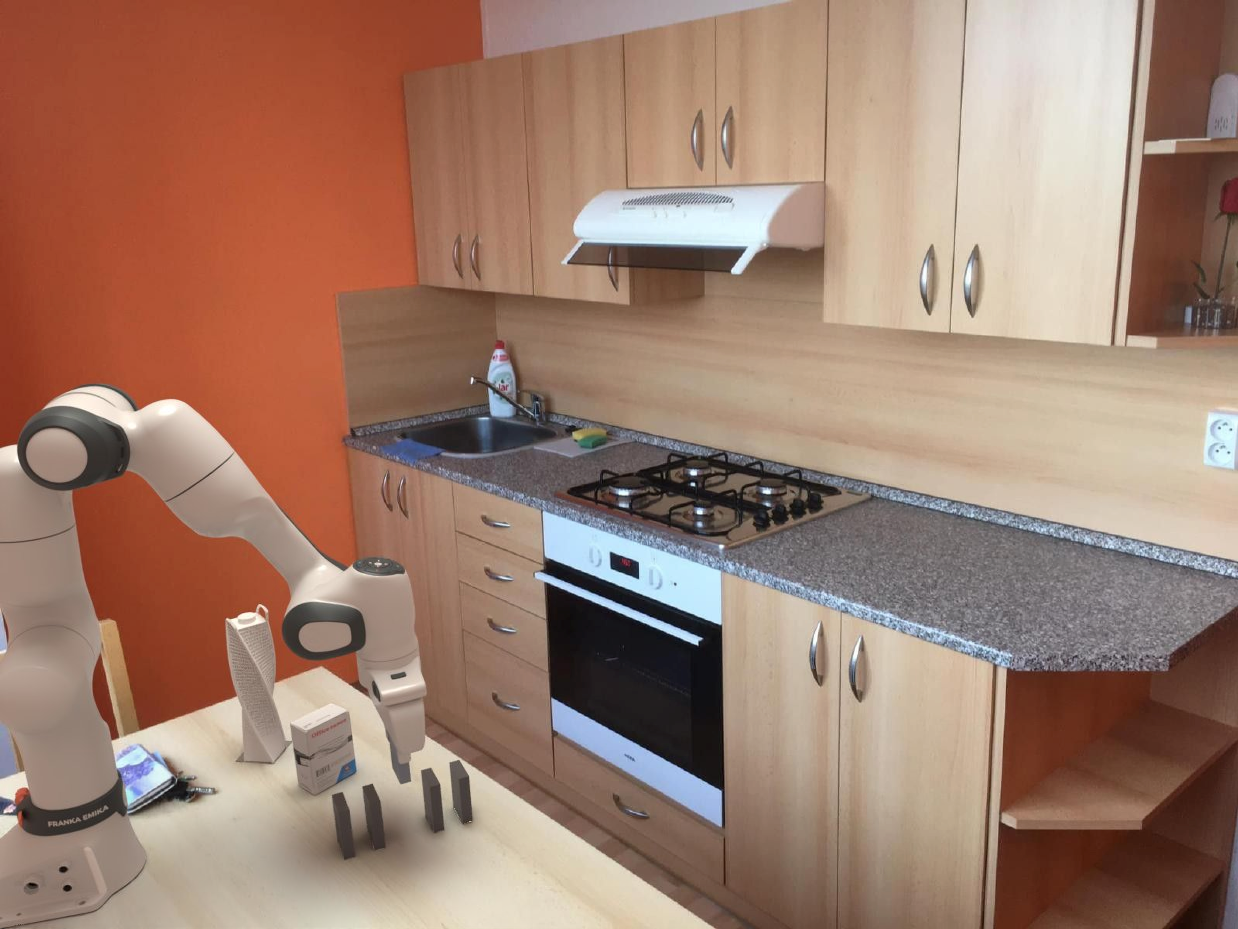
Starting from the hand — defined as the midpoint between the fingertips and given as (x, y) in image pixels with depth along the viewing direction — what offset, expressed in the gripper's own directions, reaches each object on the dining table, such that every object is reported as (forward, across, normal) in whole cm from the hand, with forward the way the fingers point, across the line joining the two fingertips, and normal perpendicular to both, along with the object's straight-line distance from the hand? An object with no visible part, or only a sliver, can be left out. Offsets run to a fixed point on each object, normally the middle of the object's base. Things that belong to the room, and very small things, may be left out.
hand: (398, 750), depth 153 cm
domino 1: (+14, 0, -9) cm, 17 cm away
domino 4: (+14, 0, +4) cm, 15 cm away
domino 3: (+4, 0, 0) cm, 4 cm away
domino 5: (+14, 0, +9) cm, 17 cm away
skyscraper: (+14, -33, -16) cm, 40 cm away
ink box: (+14, -20, -8) cm, 26 cm away
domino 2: (+14, 0, -5) cm, 15 cm away
